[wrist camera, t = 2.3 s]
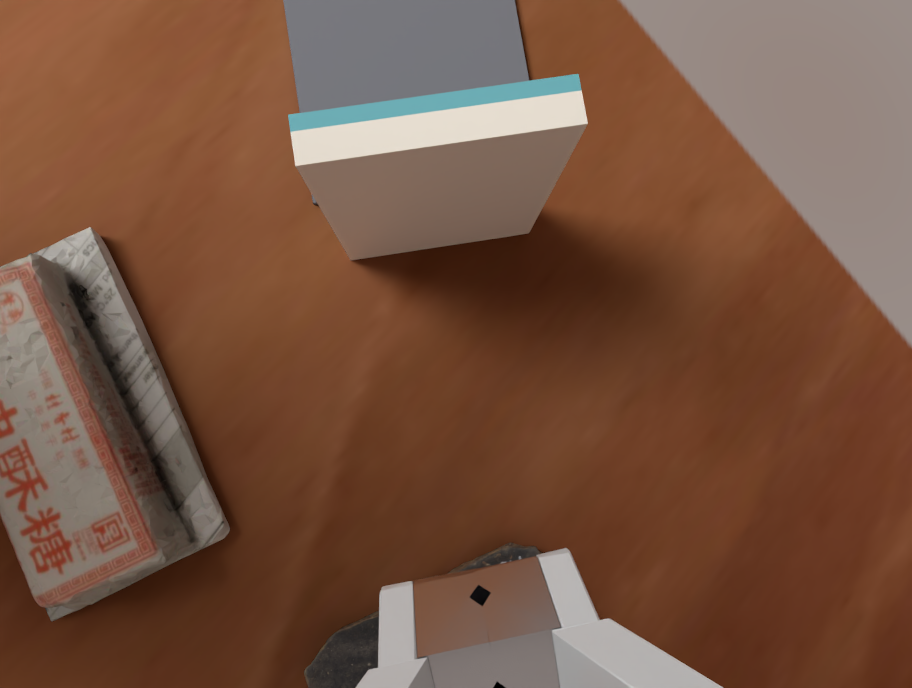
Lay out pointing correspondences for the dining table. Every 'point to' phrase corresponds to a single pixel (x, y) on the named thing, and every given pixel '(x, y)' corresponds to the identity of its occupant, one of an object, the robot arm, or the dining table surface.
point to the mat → (400, 49)
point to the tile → (439, 164)
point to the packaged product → (91, 433)
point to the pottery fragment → (358, 641)
